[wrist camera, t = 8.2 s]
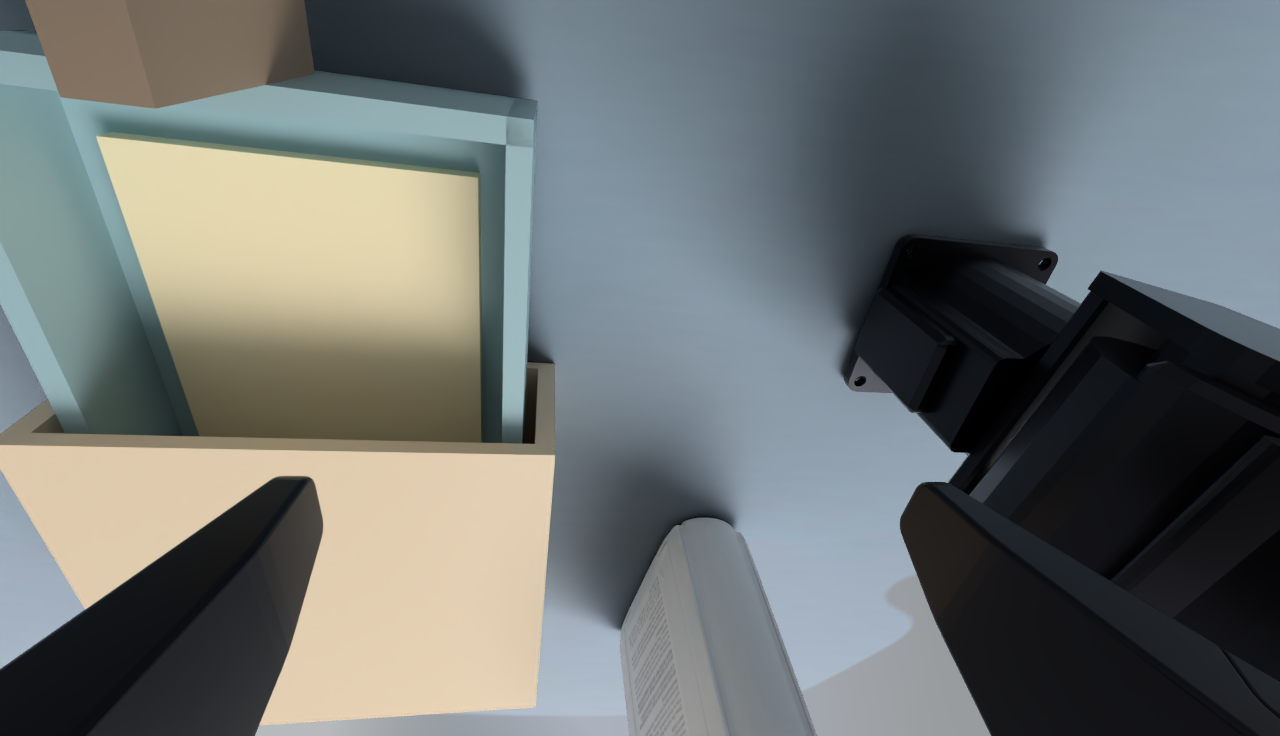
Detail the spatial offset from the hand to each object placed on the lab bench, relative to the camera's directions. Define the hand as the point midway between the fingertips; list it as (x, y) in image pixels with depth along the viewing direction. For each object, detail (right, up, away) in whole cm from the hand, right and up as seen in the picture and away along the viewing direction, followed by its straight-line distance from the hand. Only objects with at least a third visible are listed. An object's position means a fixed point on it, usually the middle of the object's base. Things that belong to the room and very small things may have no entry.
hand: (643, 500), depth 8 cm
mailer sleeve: (-11, -3, +15) cm, 19 cm away
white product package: (+2, -9, +21) cm, 23 cm away
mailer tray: (-9, +5, +9) cm, 14 cm away
